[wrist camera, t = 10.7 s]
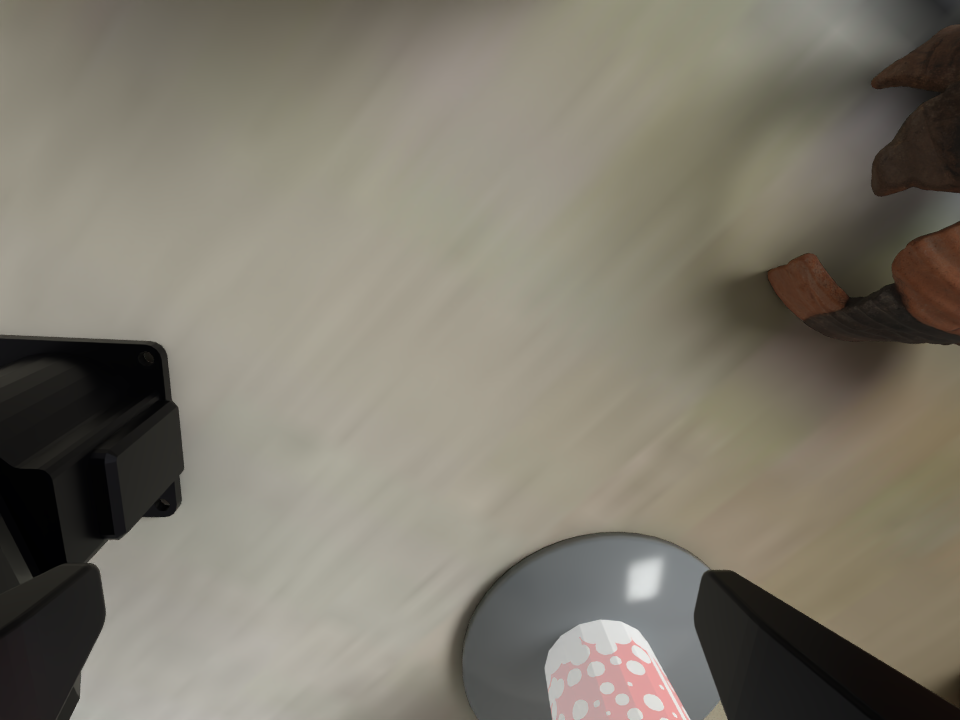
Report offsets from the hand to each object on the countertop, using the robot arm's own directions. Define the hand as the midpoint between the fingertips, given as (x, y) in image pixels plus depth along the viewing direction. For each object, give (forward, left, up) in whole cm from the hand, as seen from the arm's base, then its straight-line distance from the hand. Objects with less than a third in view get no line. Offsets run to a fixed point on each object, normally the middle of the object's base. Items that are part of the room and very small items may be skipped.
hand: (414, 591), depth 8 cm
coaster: (+8, -13, -12) cm, 19 cm away
